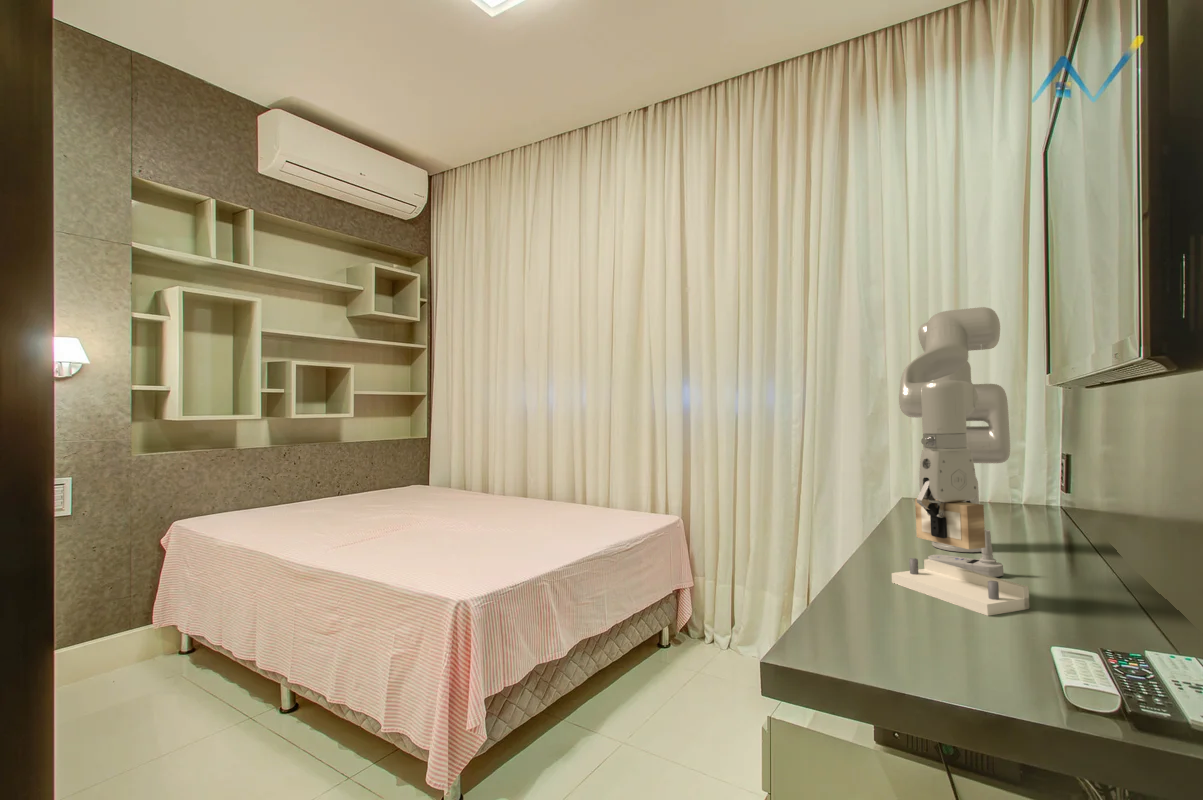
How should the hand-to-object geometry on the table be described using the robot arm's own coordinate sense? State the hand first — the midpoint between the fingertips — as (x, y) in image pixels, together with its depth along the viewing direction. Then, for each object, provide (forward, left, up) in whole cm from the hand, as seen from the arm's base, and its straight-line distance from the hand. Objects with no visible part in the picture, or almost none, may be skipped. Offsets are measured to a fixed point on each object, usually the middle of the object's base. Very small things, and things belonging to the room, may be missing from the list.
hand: (948, 535), depth 115 cm
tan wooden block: (0, 0, -1) cm, 1 cm away
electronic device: (-13, +18, -12) cm, 25 cm away
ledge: (0, +1, -12) cm, 12 cm away
